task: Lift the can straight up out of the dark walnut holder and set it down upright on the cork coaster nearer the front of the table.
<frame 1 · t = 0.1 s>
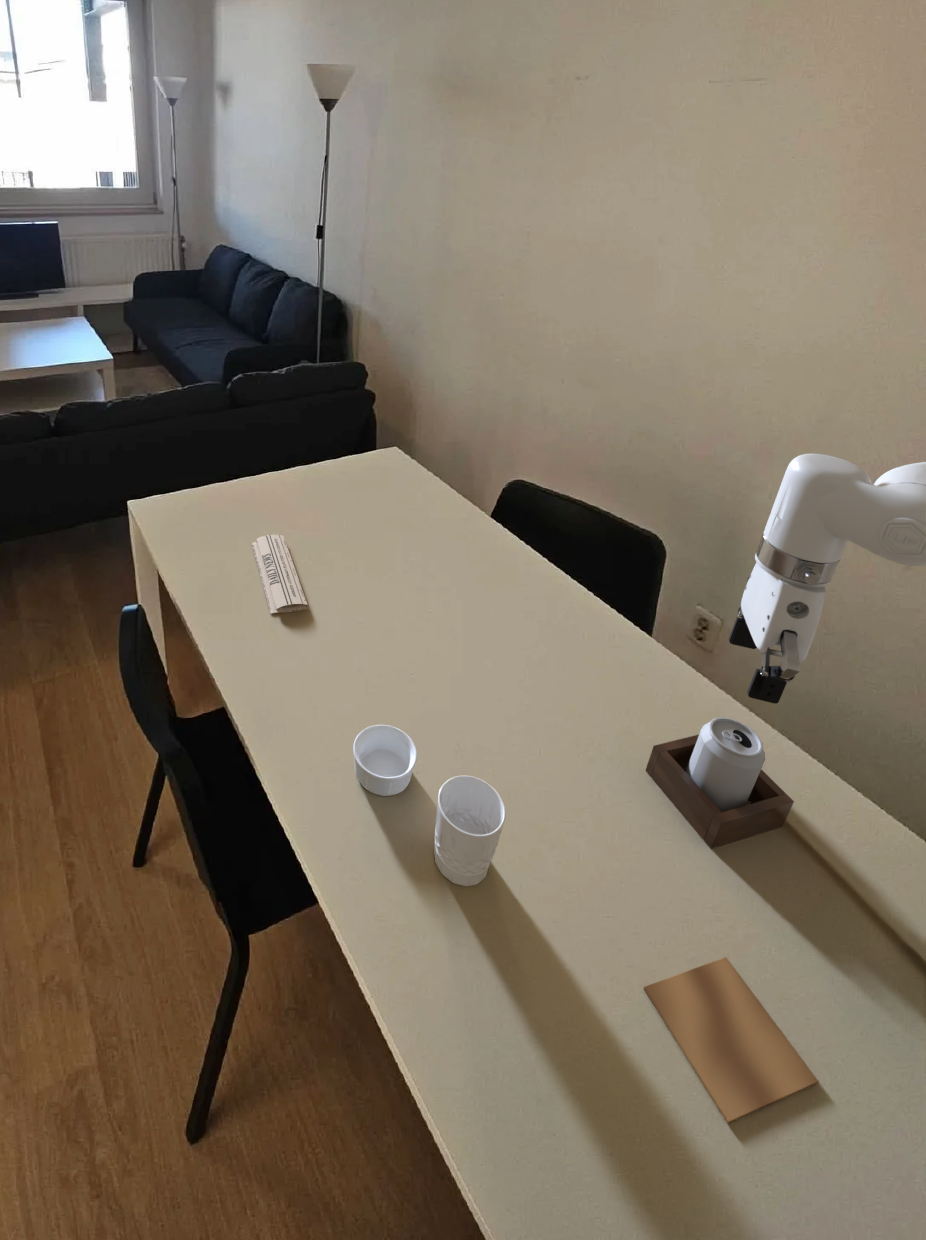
hand: (751, 670, 84), 22 cm above the table, tool pointing down, fingers open, 9 cm apart
ramekin: (382, 773, 94), on the table
coaster: (725, 1034, 68), on the table
white cup: (460, 860, 83), on the table
holder: (710, 797, 93), on the table
can: (710, 798, 93), resting in holder
newspaper: (277, 575, 135), on the table
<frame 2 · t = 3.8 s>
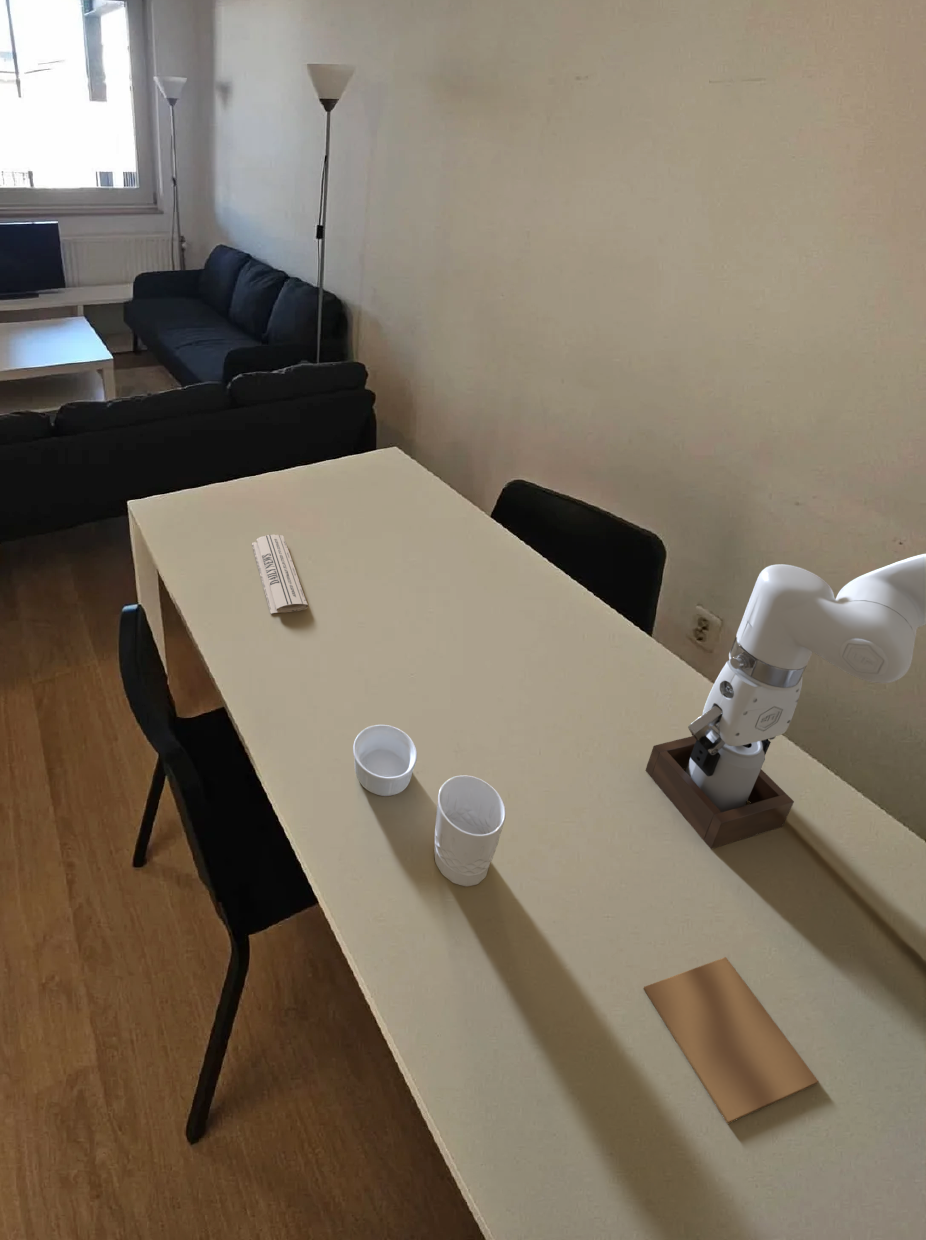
hand: (725, 759, 90), 7 cm above the table, tool pointing down, fingers closed on can, 7 cm apart
can: (710, 798, 93), resting in holder, touching gripper
everything else where it was.
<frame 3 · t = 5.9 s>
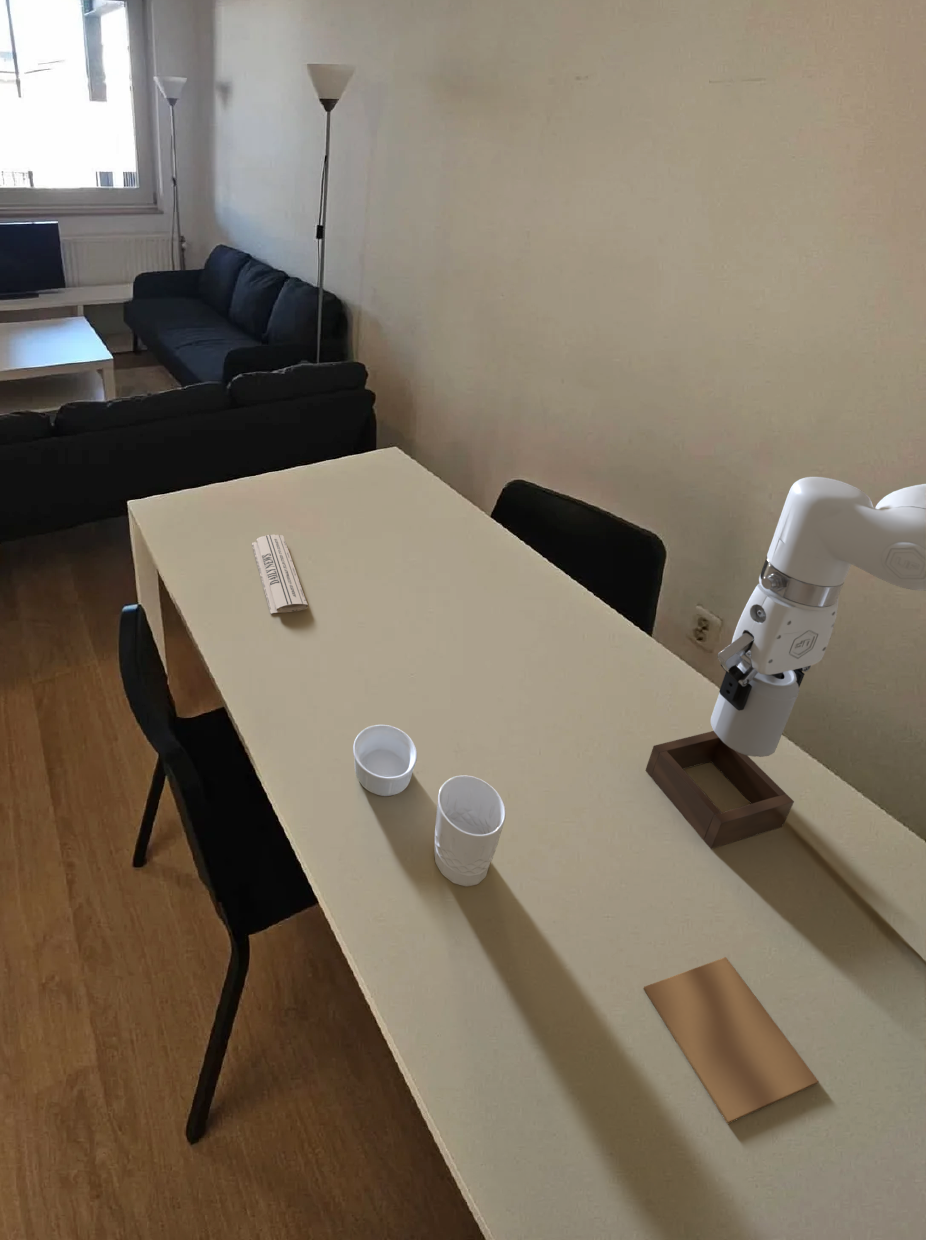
hand: (756, 694, 85), 19 cm above the table, tool pointing down, fingers closed on can, 7 cm apart
can: (740, 738, 88), point 12 cm above the table, touching gripper
everything else where it was.
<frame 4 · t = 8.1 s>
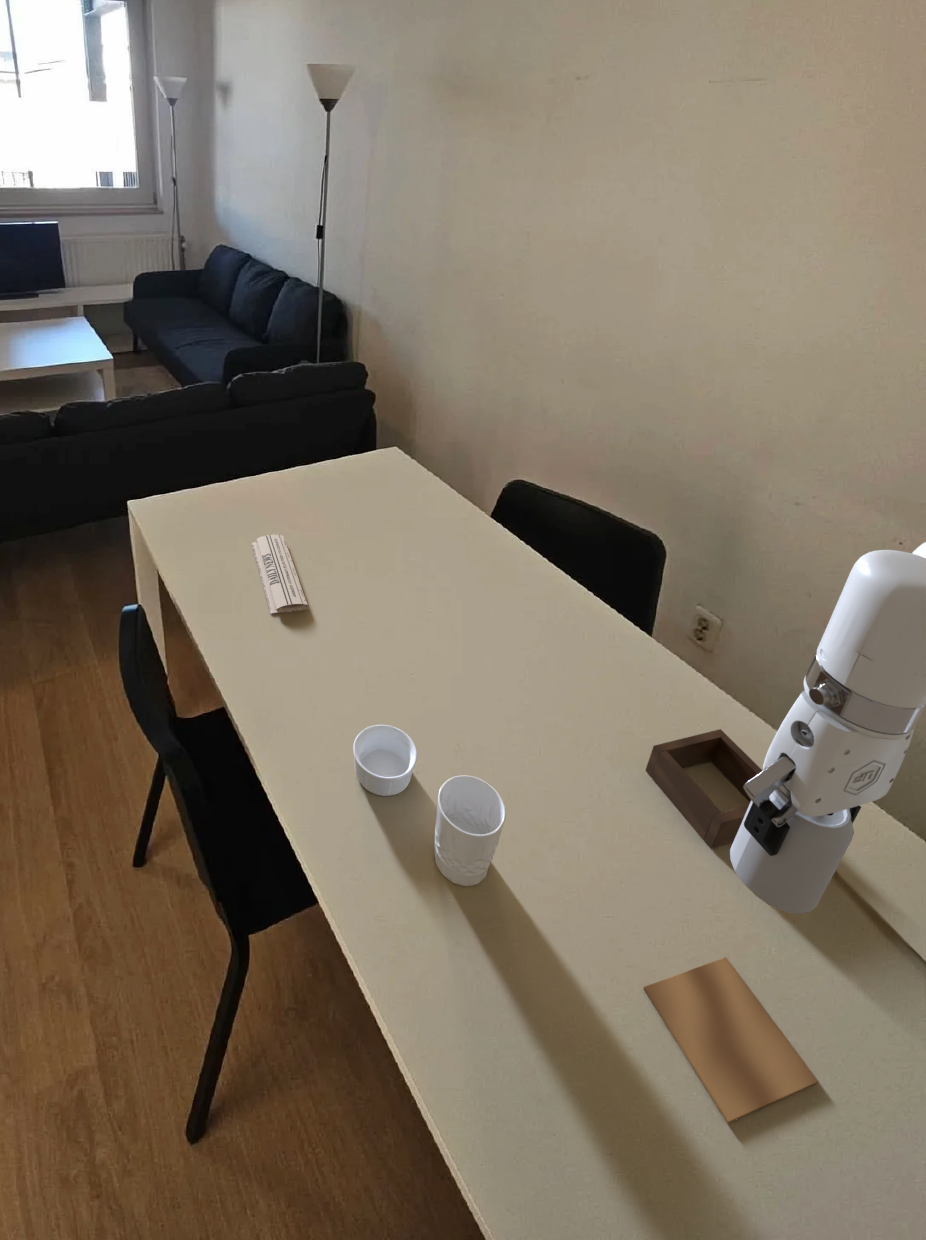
hand: (794, 830, 63), 24 cm above the table, tool pointing down, fingers closed on can, 7 cm apart
can: (769, 880, 66), point 16 cm above the table, touching gripper
everything else where it was.
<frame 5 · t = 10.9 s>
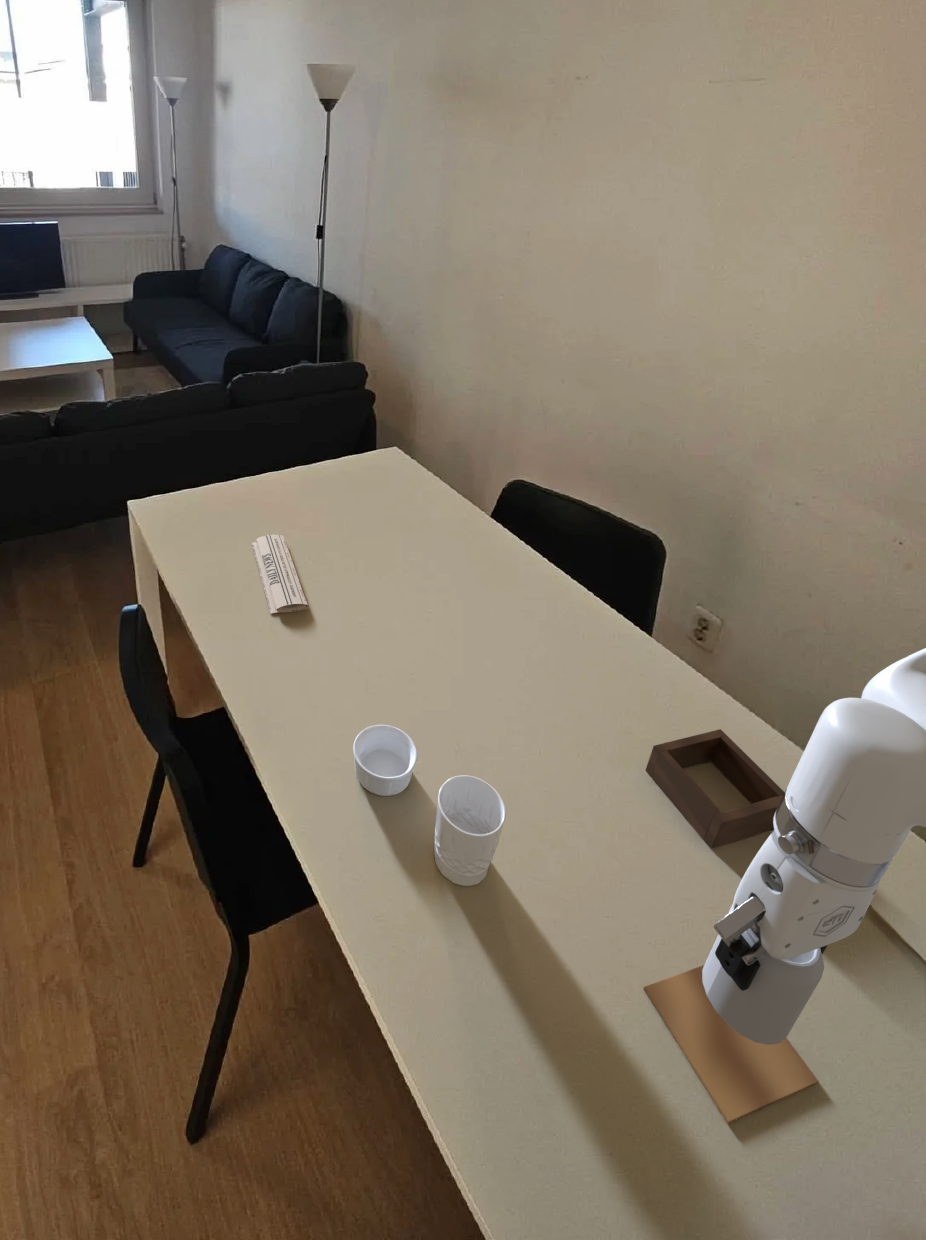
hand: (765, 958, 63), 13 cm above the table, tool pointing down, fingers closed on can, 7 cm apart
can: (741, 1003, 66), point 5 cm above the table, touching gripper
everything else where it was.
when the fingers open (8 cm above the table, at t = 12.8 s): can stays where it is, resting on coaster.
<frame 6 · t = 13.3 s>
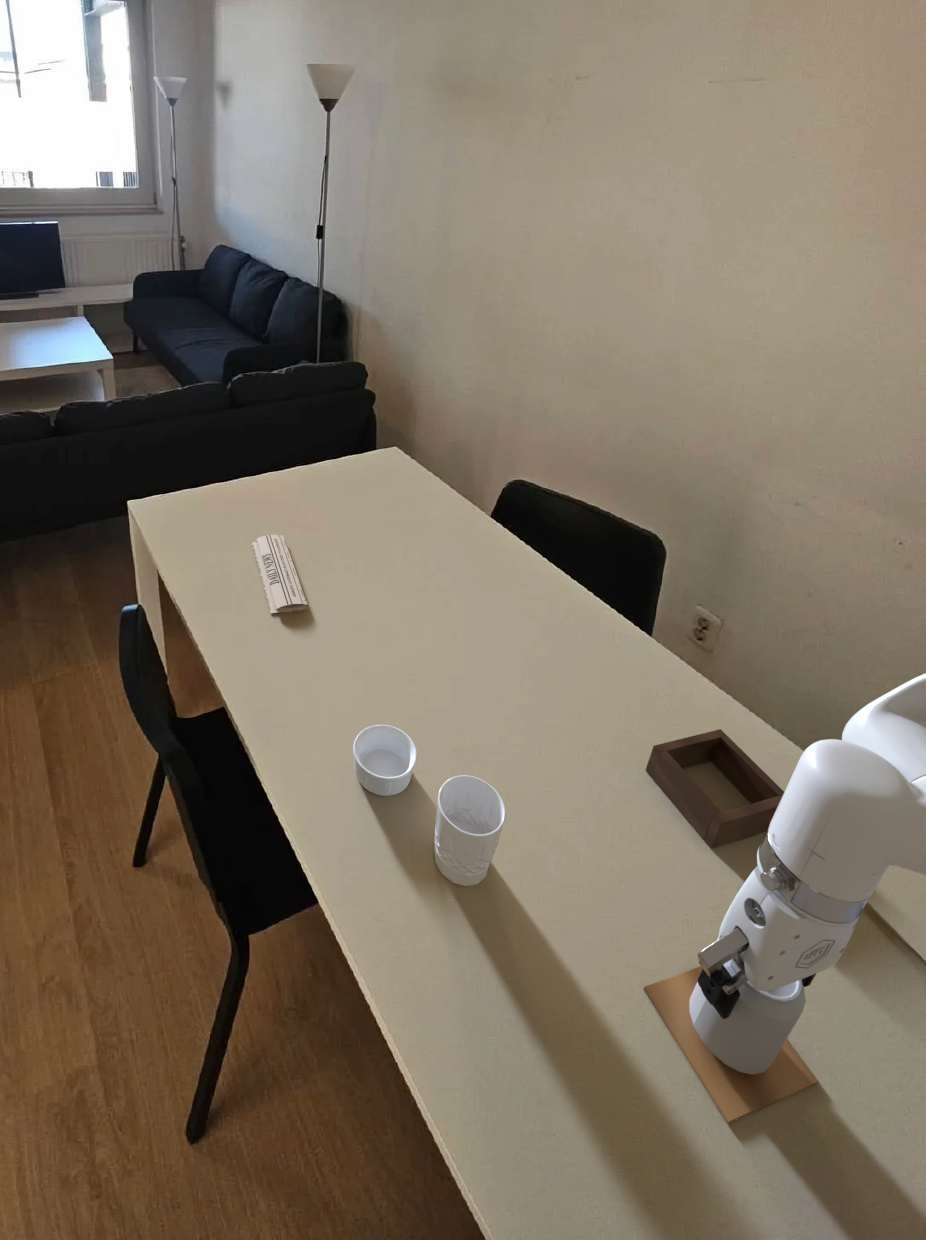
hand: (752, 984, 64), 9 cm above the table, tool pointing down, fingers open, 9 cm apart
can: (727, 1032, 68), resting on coaster
everything else where it was.
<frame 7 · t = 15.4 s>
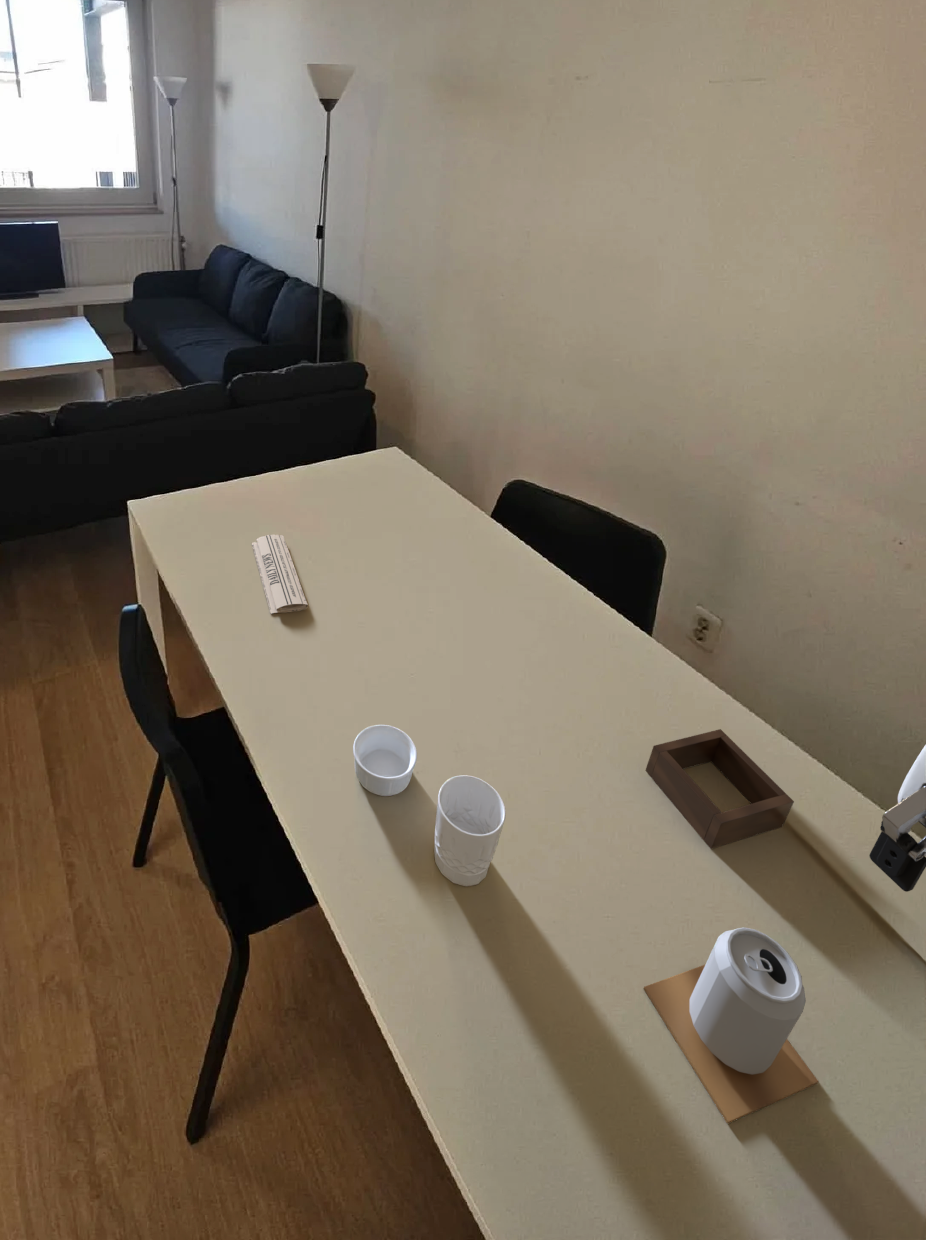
nothing on the table moved.
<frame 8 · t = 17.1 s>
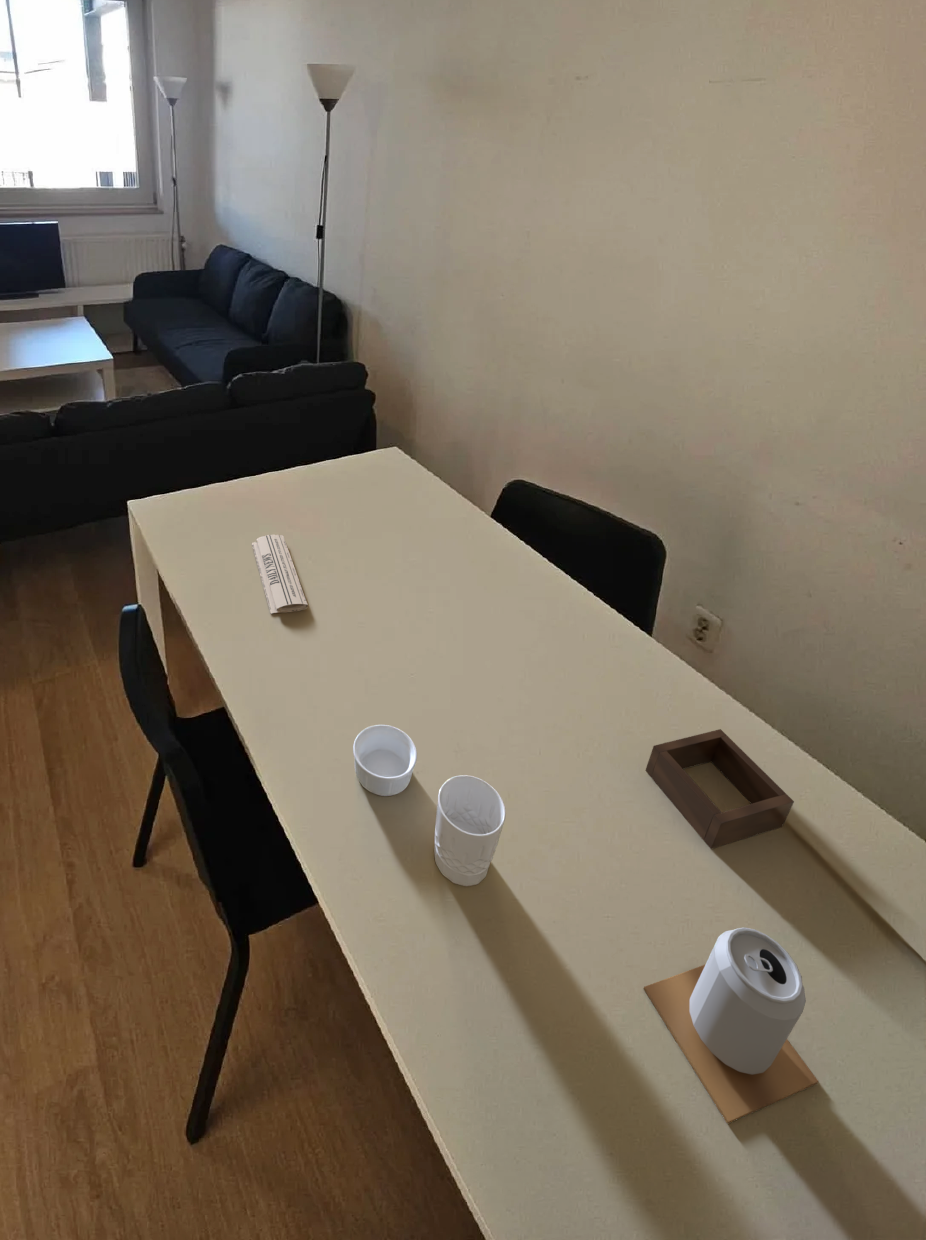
nothing on the table moved.
at the end: can 0.1 cm off-centre on the coaster, point 0.2 cm above the coaster's base; can tilted 0°; can touching coaster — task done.
